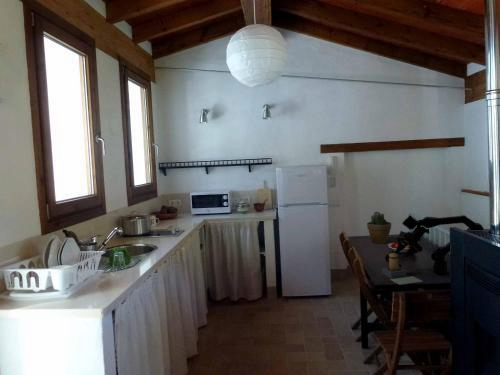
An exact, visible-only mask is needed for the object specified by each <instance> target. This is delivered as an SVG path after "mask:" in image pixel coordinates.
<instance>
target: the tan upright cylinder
mask: <svg viewBox="0 0 500 375" xmlns="http://www.w3.org/2000/svg"><path fill="white" fill-rule="evenodd" d="M388 254H389V262H388V263H389V265H388V267H389V269H390V271H392V272H393V271H399V265H398V263H399V253H395V252H391V253H388Z"/></svg>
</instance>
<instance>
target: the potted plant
mask: <svg viewBox="0 0 500 375" xmlns="http://www.w3.org/2000/svg"><path fill="white" fill-rule="evenodd" d="M370 219H371V221H369V222H367V223H366V226H367V230H368V234H369V236H370V239H371V243H373V244H376V245H383V244H387V243H388V240H389V238H390V237H389V236H390V233H391V229H392V223H391V222H390V221H387V219H386V218H385V214H384V213H381V212H379V211H375V212H374V213H373V214H372V215H371V216H370Z"/></svg>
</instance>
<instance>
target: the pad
mask: <svg viewBox="0 0 500 375" xmlns="http://www.w3.org/2000/svg"><path fill="white" fill-rule="evenodd" d="M389 279H390V281H392V282H394V283H395V284H398V285H400V286H401V285H407V284H408V285H409V284H416V283H423V280H421V279H419V278H417V277H415V276H412V275H411V276H405V277H397V278H389Z"/></svg>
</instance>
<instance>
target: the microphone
mask: <svg viewBox="0 0 500 375" xmlns="http://www.w3.org/2000/svg"><path fill="white" fill-rule="evenodd" d="M389 254H390V253H388V254H386V255H385V258H384V259H385V261H386V262H387V263H389ZM398 265H399V267H400V268H402V269H403V267H402V266H401V264H400V263H399V262H398Z"/></svg>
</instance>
